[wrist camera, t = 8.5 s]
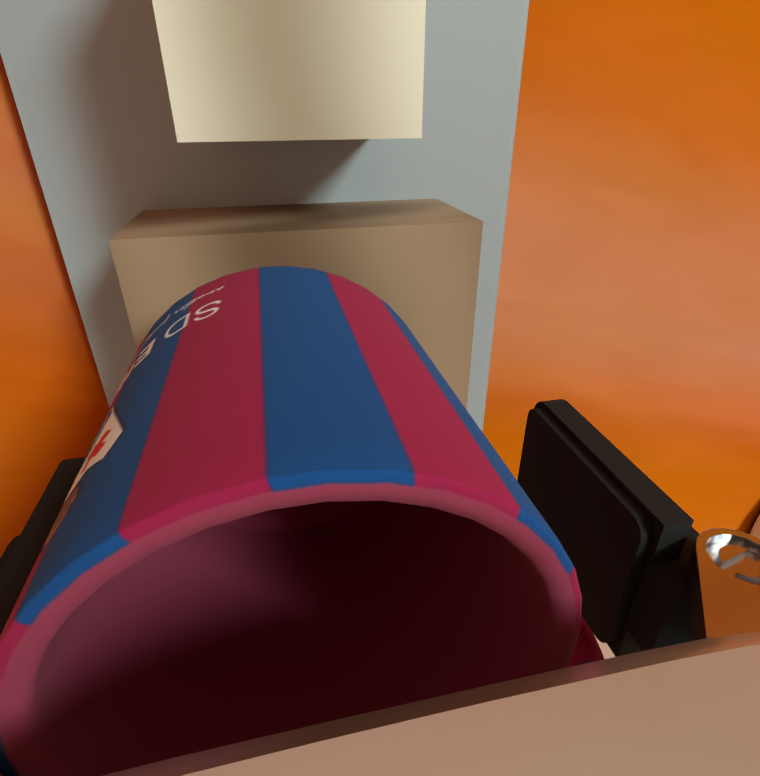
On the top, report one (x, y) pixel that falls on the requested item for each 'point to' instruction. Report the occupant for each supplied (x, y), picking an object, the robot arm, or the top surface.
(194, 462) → the cup
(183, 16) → the birch cube
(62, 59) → the board
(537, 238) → the top surface
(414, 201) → the walnut slab
